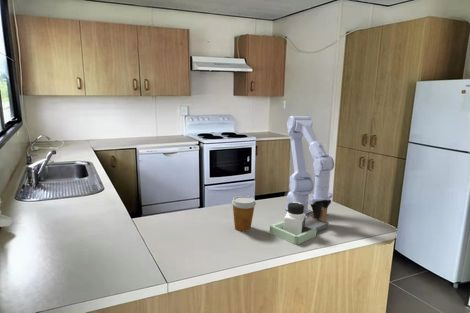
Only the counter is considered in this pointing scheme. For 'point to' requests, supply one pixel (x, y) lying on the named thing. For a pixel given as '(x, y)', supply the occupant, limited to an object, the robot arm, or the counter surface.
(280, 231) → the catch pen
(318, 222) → the scraper
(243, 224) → the disposable coffee cup
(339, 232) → the counter surface
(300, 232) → the medicine bottle
